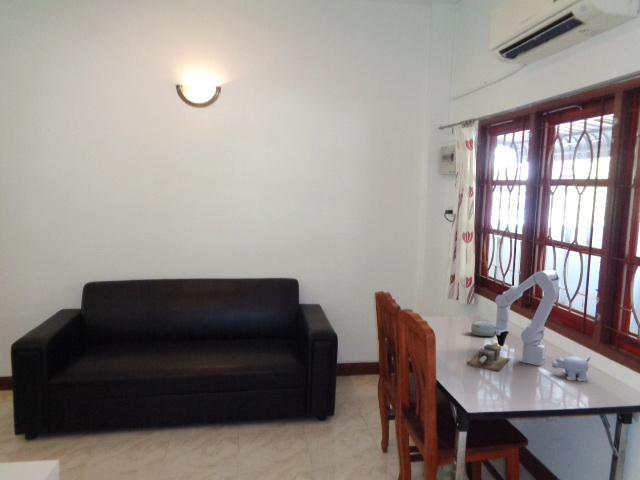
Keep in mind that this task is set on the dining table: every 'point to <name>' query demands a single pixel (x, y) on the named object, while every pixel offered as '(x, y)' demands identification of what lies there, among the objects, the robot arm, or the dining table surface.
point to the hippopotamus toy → (573, 367)
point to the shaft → (487, 355)
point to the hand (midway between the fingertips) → (500, 345)
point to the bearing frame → (489, 358)
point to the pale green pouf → (483, 328)
